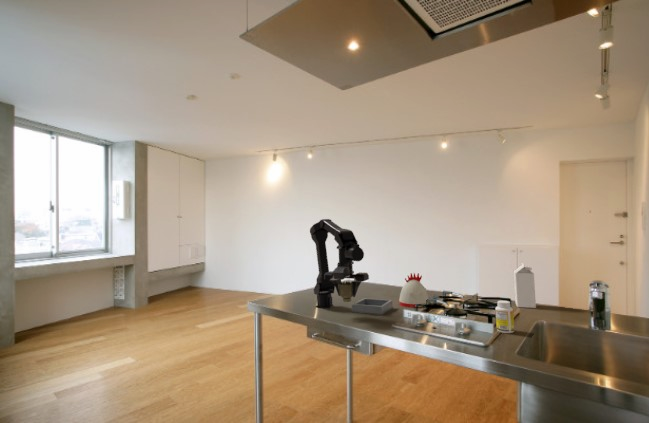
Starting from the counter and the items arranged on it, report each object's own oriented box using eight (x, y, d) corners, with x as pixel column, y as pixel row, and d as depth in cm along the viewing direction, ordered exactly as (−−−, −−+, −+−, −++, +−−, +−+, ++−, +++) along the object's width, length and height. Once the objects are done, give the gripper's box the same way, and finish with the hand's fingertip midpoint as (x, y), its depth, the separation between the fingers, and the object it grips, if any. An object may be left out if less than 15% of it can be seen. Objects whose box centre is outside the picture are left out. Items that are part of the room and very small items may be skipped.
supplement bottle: (509, 328, 124) (508, 299, 125) (517, 333, 119) (516, 303, 119) (493, 329, 125) (492, 300, 125) (501, 333, 119) (499, 303, 119)
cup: (354, 303, 145) (353, 283, 145) (337, 303, 146) (336, 283, 147) (356, 299, 152) (355, 281, 152) (339, 299, 154) (339, 281, 154)
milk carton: (517, 307, 154) (515, 264, 155) (515, 304, 161) (513, 262, 162) (536, 308, 151) (533, 264, 152) (533, 304, 158) (530, 262, 159)
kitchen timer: (432, 307, 160) (431, 274, 161) (402, 308, 160) (401, 275, 161) (424, 300, 174) (423, 270, 175) (397, 301, 174) (395, 271, 175)
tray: (352, 312, 156) (351, 304, 156) (364, 305, 168) (364, 298, 168) (382, 315, 149) (381, 306, 149) (392, 307, 161) (392, 300, 161)
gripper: (317, 261, 147) (318, 298, 147) (357, 262, 138) (359, 301, 138) (329, 258, 157) (331, 293, 157) (368, 259, 148) (370, 296, 147)
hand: (346, 296), depth 149 cm, fingers closed on cup, 6 cm apart
